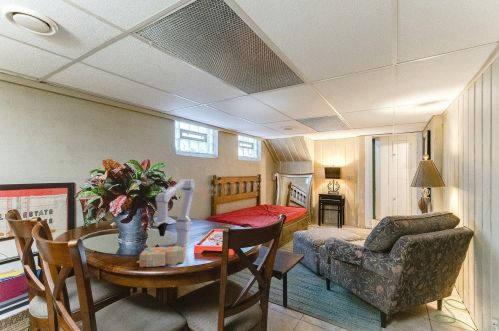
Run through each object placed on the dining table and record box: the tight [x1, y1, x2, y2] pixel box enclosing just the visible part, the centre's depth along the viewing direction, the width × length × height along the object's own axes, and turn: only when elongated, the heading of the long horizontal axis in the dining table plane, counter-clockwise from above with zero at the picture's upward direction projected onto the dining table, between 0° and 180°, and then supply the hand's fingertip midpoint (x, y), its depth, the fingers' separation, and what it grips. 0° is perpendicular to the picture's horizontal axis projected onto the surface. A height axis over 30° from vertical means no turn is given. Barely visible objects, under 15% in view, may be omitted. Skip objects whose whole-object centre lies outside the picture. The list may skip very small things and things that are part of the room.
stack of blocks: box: [139, 245, 187, 268], centre depth 124 cm, size 21×6×12 cm
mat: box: [135, 259, 178, 266], centre depth 126 cm, size 8×22×1 cm, turn 83°
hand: (162, 236), depth 138 cm, fingers closed
